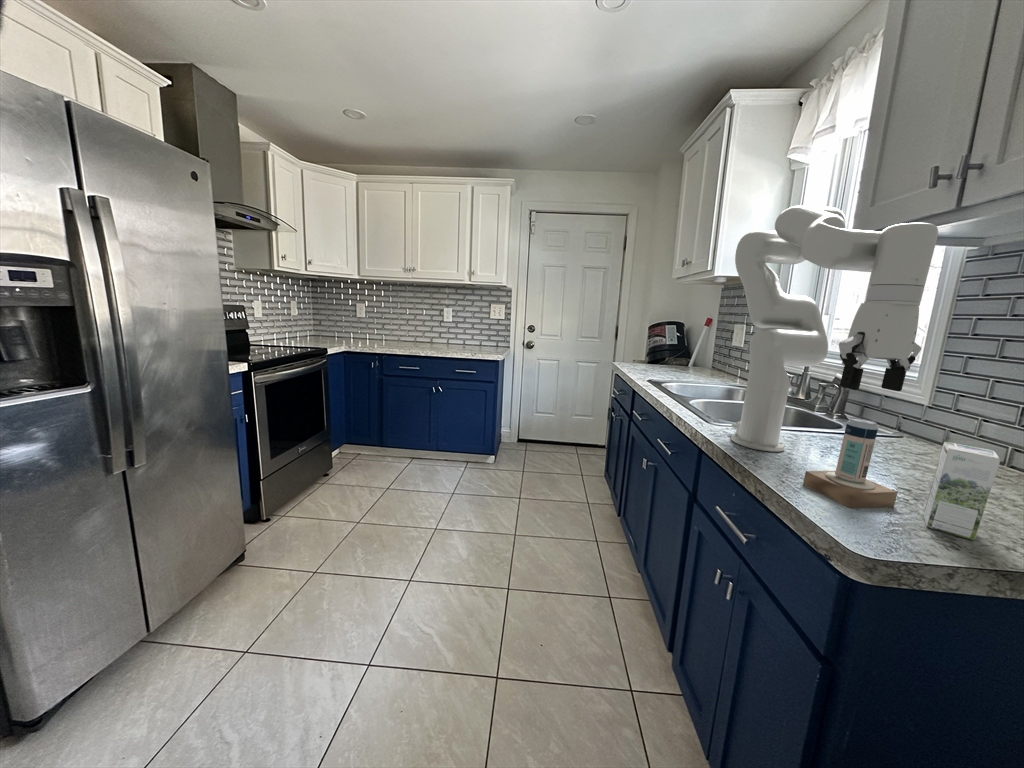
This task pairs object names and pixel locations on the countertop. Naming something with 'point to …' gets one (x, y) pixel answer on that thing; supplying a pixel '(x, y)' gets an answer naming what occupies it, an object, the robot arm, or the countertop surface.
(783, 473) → the countertop surface
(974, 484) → the syrup box
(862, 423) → the beer can
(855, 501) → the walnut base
